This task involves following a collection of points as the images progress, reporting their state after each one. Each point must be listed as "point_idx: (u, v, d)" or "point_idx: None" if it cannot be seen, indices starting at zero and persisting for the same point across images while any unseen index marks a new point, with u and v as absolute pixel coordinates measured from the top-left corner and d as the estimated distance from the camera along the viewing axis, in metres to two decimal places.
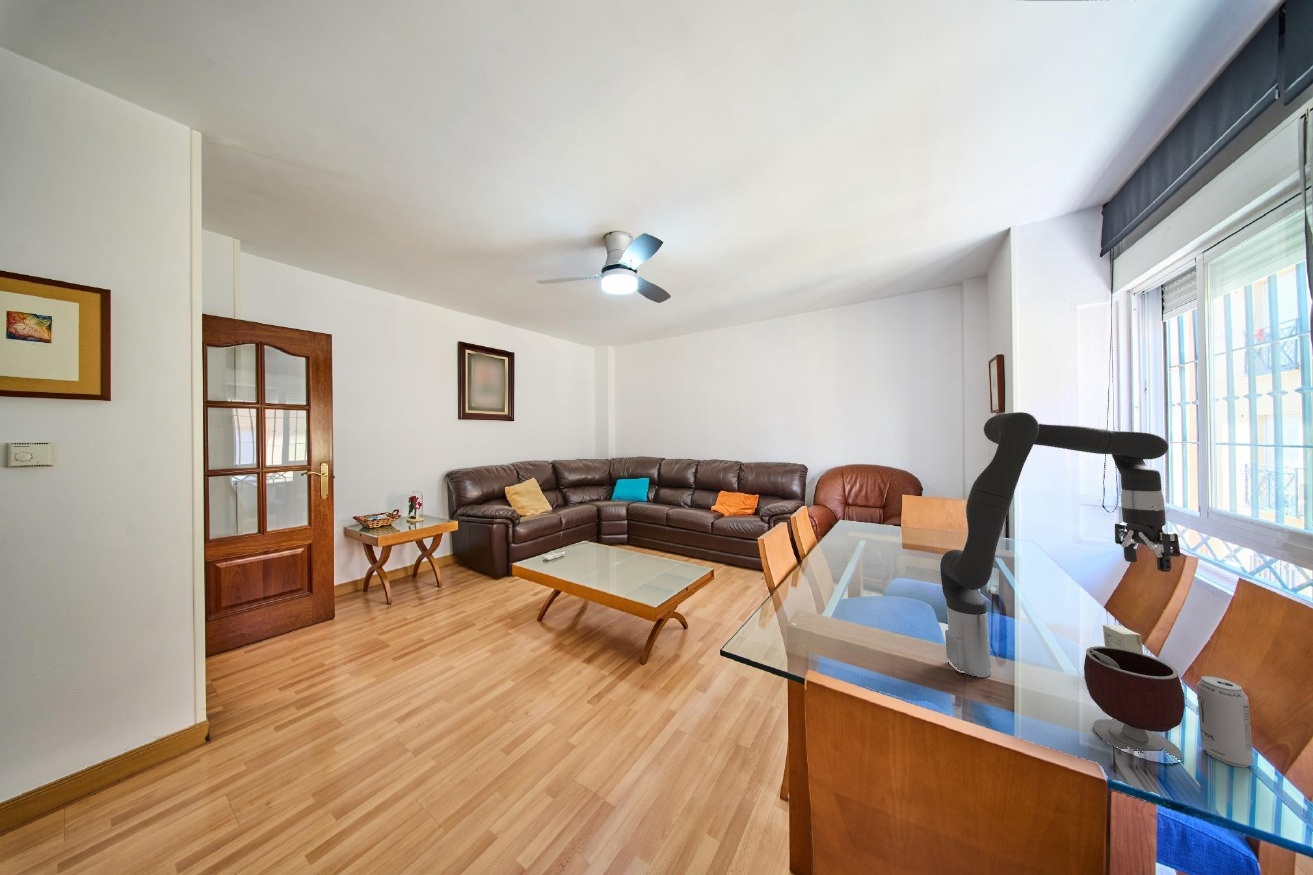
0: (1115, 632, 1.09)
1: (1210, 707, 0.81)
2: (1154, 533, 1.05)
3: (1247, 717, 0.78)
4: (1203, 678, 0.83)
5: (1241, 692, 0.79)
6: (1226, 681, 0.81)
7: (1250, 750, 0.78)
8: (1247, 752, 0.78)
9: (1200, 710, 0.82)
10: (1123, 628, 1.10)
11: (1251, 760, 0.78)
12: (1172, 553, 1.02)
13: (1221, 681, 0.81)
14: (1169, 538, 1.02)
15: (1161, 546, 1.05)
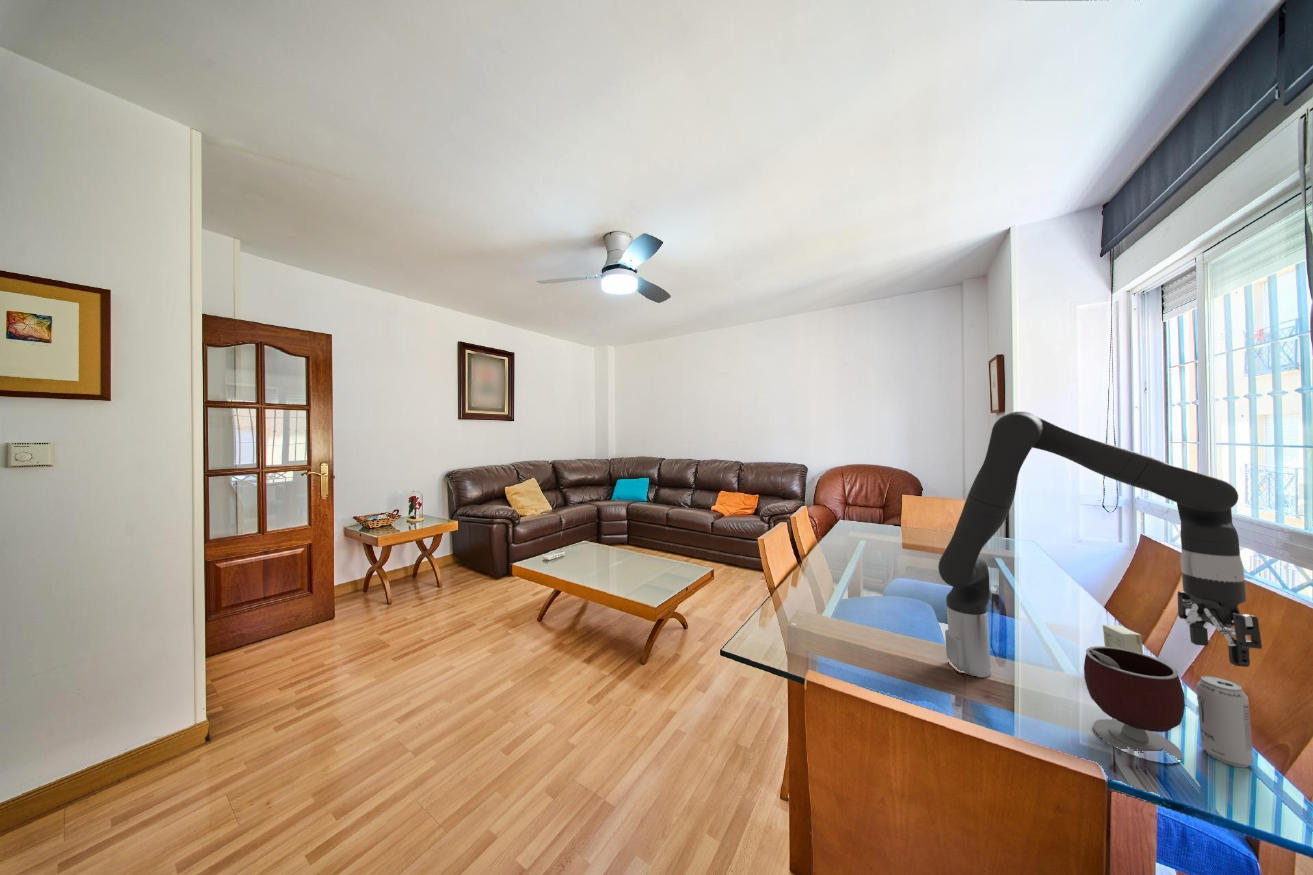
0: (1115, 632, 1.09)
1: (1210, 707, 0.81)
2: None
3: (1247, 717, 0.78)
4: (1203, 678, 0.83)
5: (1241, 692, 0.79)
6: (1226, 681, 0.81)
7: (1250, 750, 0.78)
8: (1247, 752, 0.78)
9: (1200, 710, 0.82)
10: (1123, 628, 1.10)
11: (1251, 760, 0.78)
12: None
13: (1221, 681, 0.81)
14: None
15: None
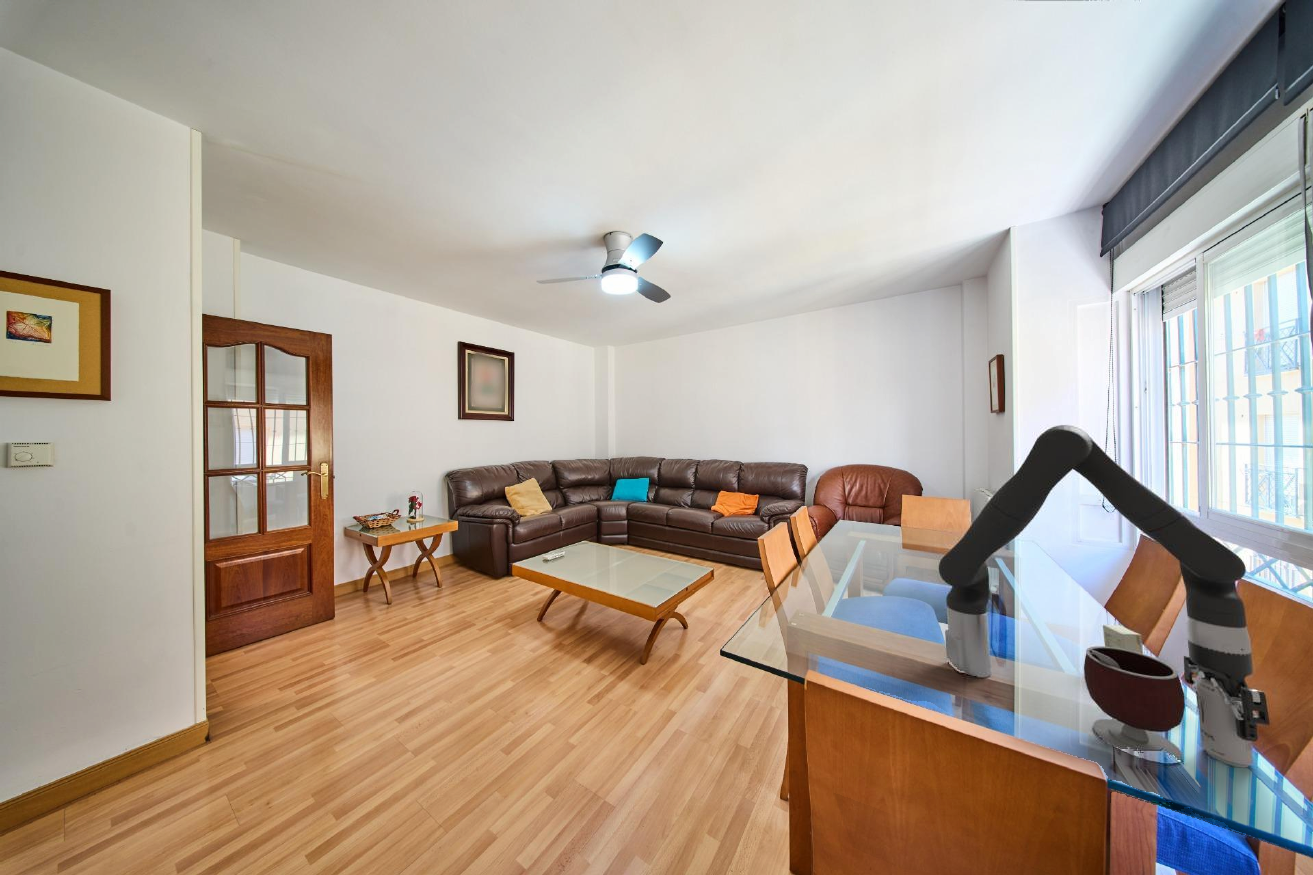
0: (1115, 632, 1.09)
1: (1210, 707, 0.81)
2: None
3: None
4: None
5: None
6: None
7: (1250, 750, 0.78)
8: (1247, 752, 0.78)
9: (1200, 710, 0.82)
10: (1123, 628, 1.10)
11: (1251, 760, 0.78)
12: None
13: None
14: None
15: None
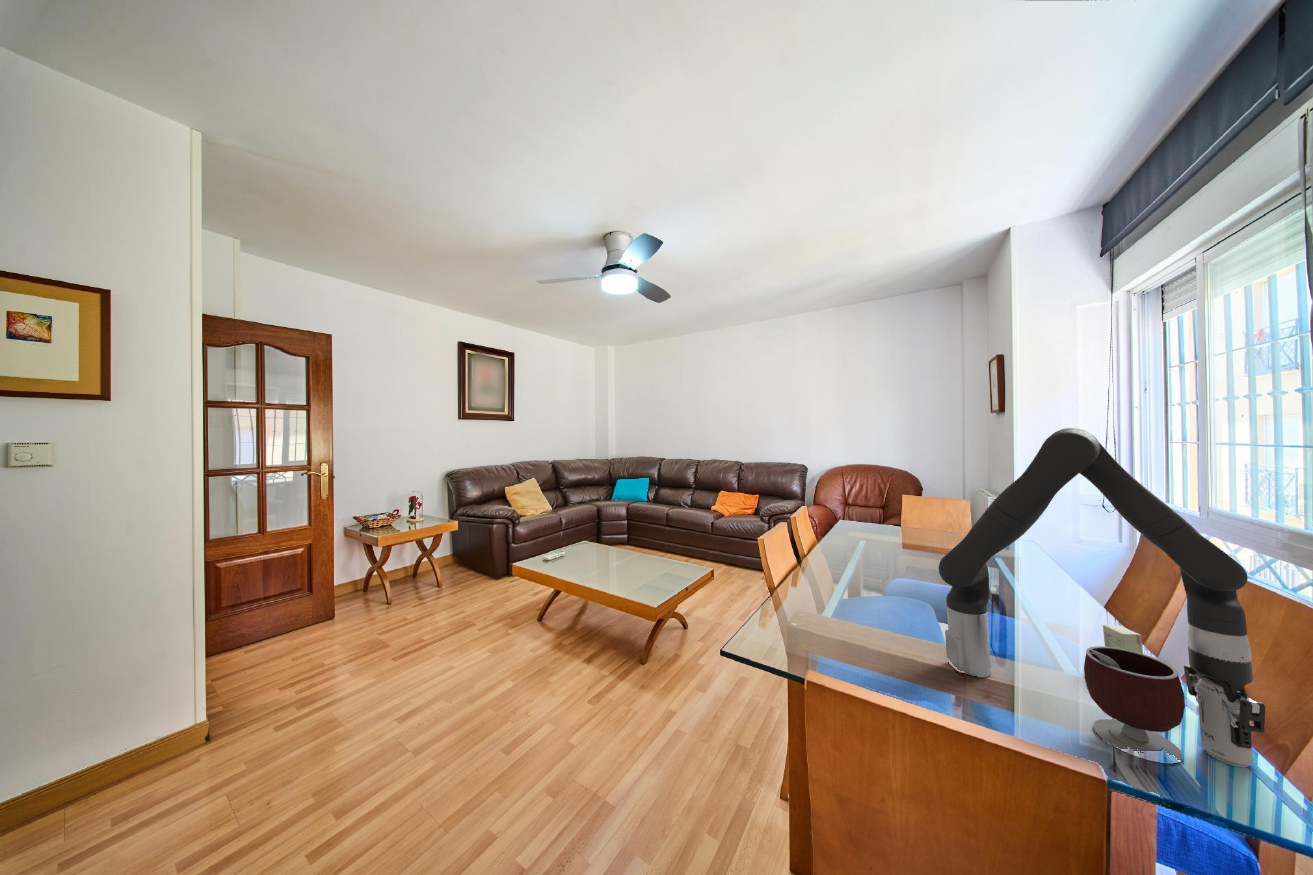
0: (1115, 632, 1.09)
1: (1210, 707, 0.81)
2: None
3: None
4: (1203, 678, 0.83)
5: None
6: None
7: (1250, 750, 0.78)
8: (1247, 752, 0.78)
9: (1200, 710, 0.82)
10: (1123, 628, 1.10)
11: (1251, 760, 0.78)
12: None
13: None
14: None
15: None
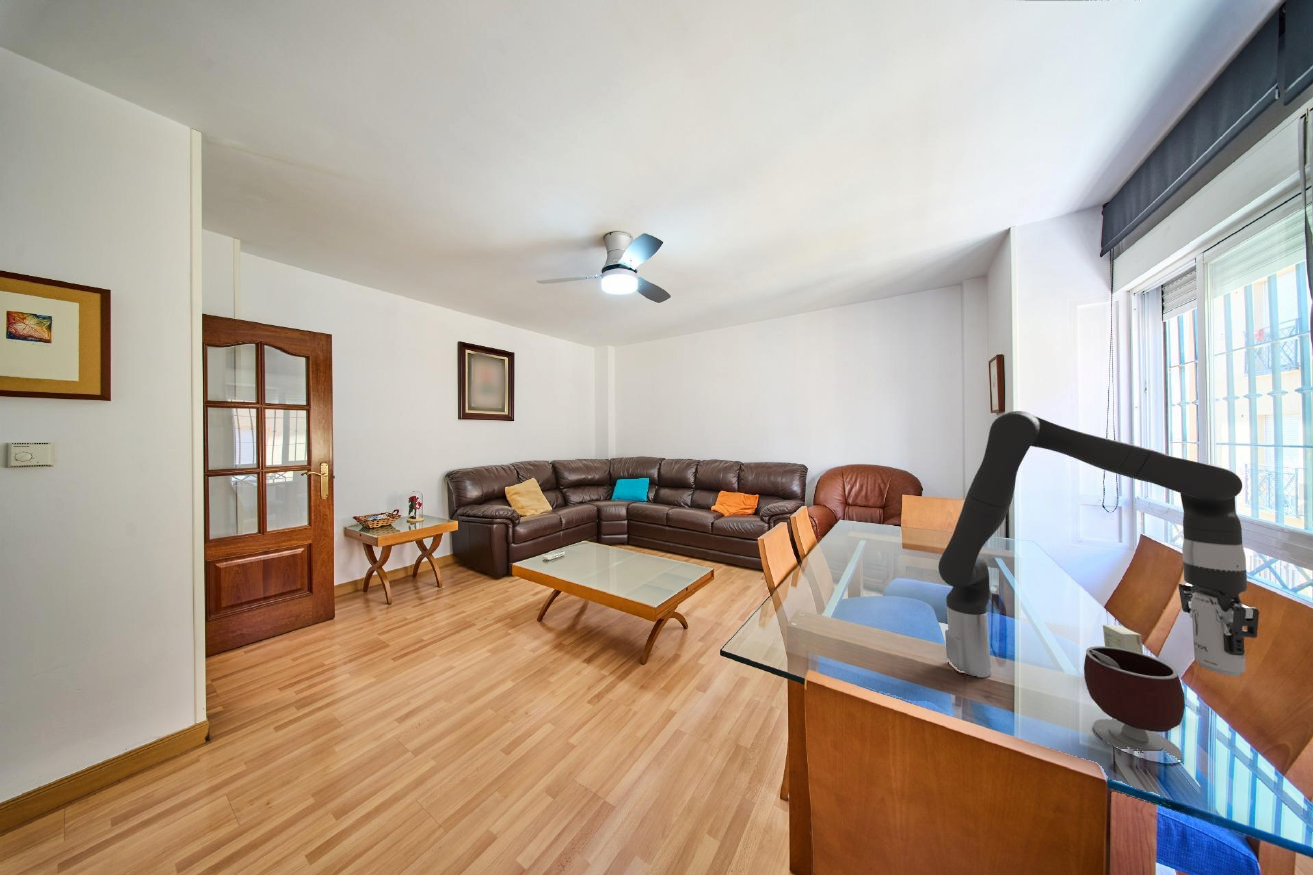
0: (1115, 632, 1.09)
1: (1204, 619, 0.81)
2: None
3: None
4: (1198, 592, 0.83)
5: None
6: None
7: (1243, 658, 0.78)
8: (1240, 660, 0.78)
9: (1194, 623, 0.83)
10: (1123, 628, 1.10)
11: (1243, 668, 0.78)
12: None
13: None
14: None
15: None
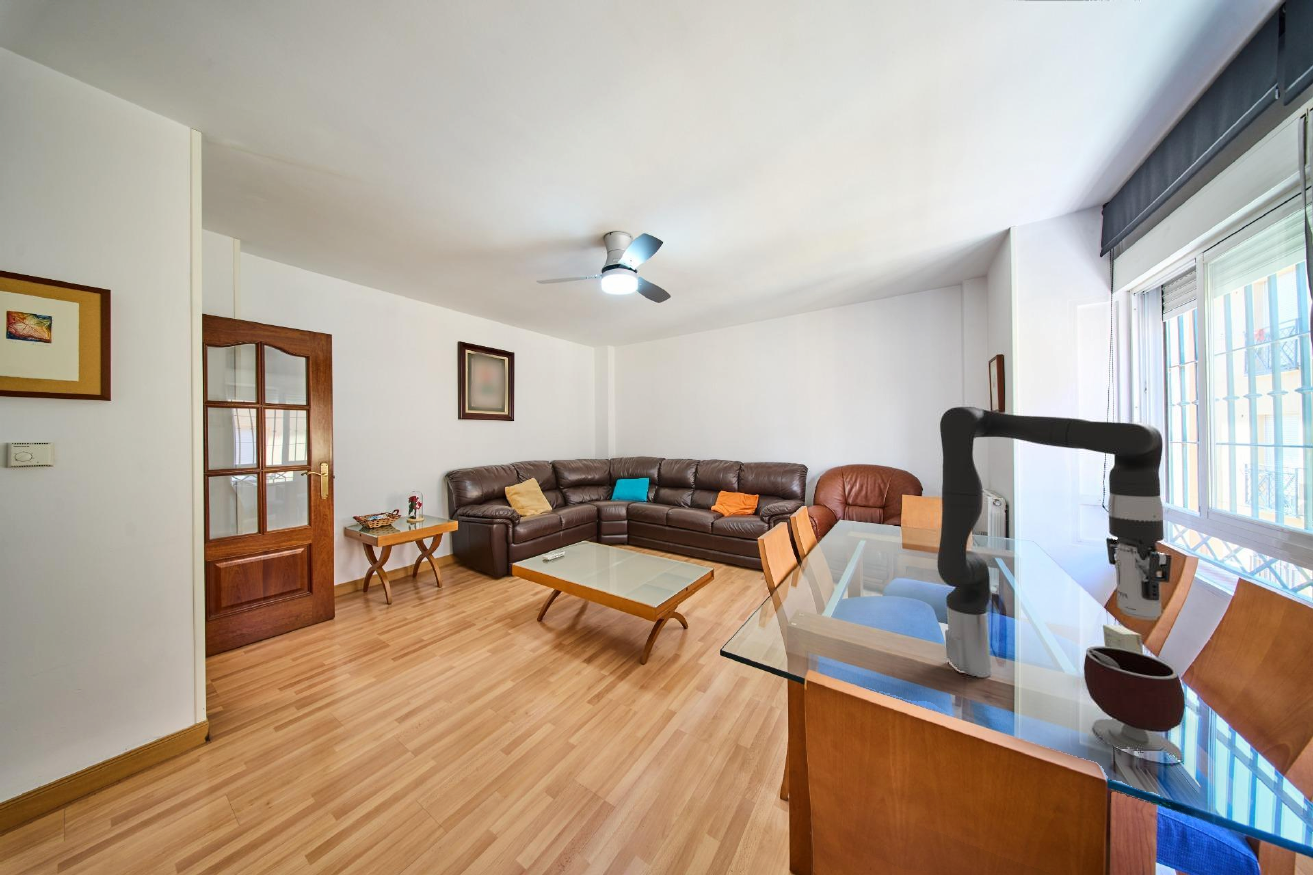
0: (1115, 632, 1.09)
1: (1125, 567, 0.85)
2: None
3: None
4: (1121, 543, 0.87)
5: None
6: None
7: (1159, 603, 0.83)
8: (1156, 605, 0.83)
9: (1117, 573, 0.87)
10: (1123, 628, 1.10)
11: (1159, 612, 0.83)
12: None
13: None
14: None
15: None
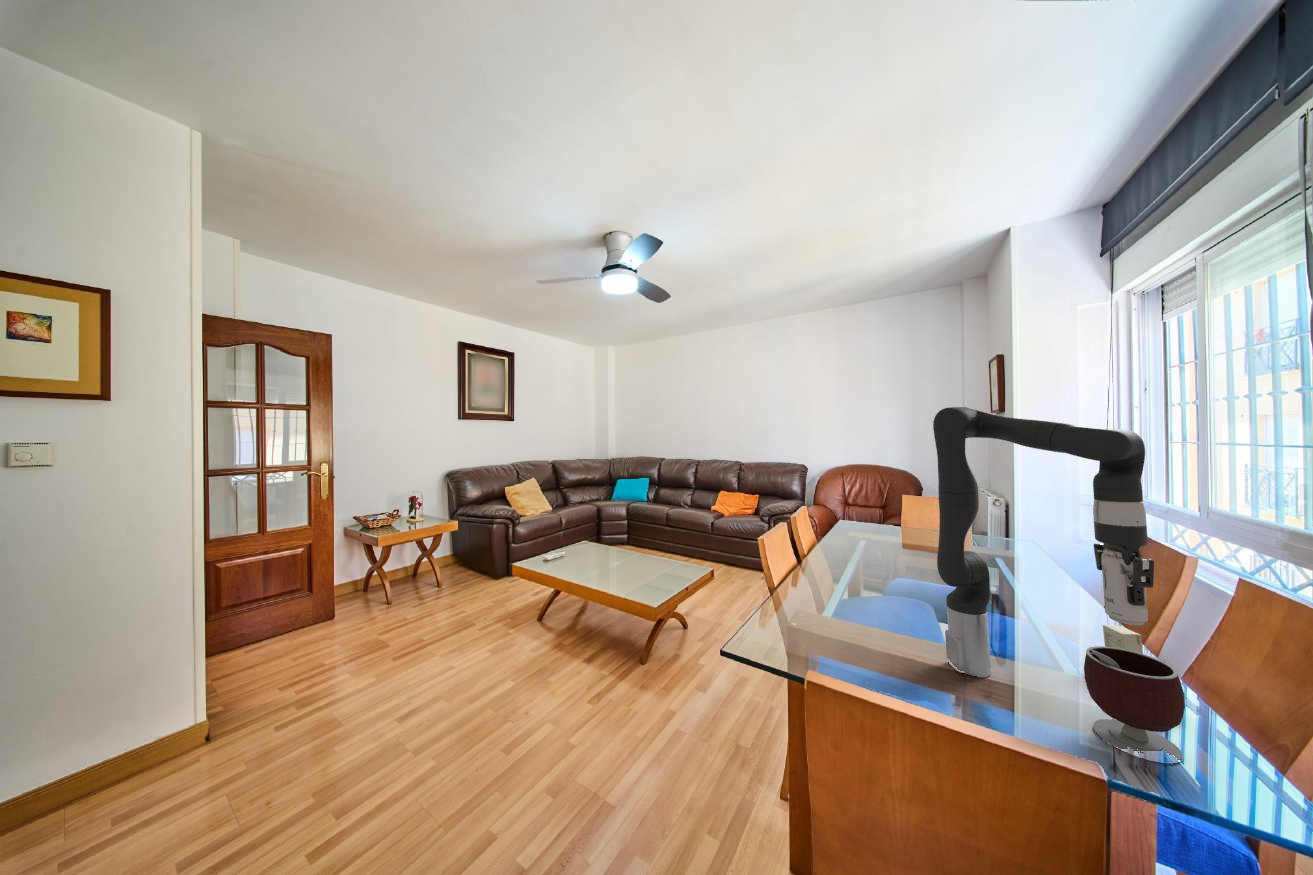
0: (1115, 632, 1.09)
1: (1111, 573, 0.86)
2: None
3: None
4: (1107, 549, 0.88)
5: None
6: None
7: (1145, 608, 0.83)
8: (1142, 610, 0.83)
9: (1103, 578, 0.88)
10: (1123, 628, 1.10)
11: (1145, 617, 0.83)
12: None
13: None
14: None
15: None
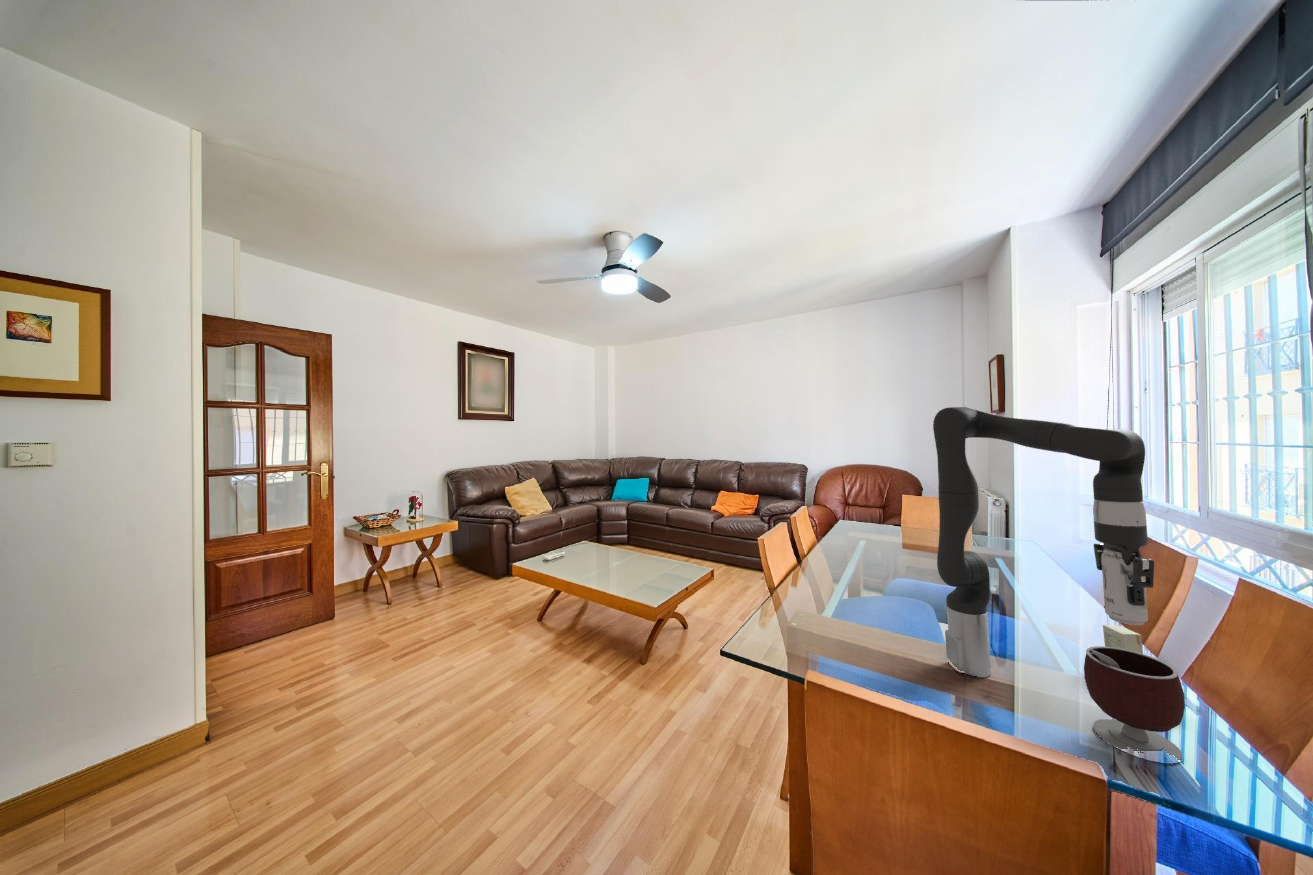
0: (1115, 632, 1.09)
1: (1111, 573, 0.86)
2: None
3: None
4: (1107, 549, 0.88)
5: None
6: None
7: (1145, 608, 0.83)
8: (1142, 610, 0.83)
9: (1103, 578, 0.88)
10: (1123, 628, 1.10)
11: (1145, 617, 0.83)
12: None
13: None
14: None
15: None
